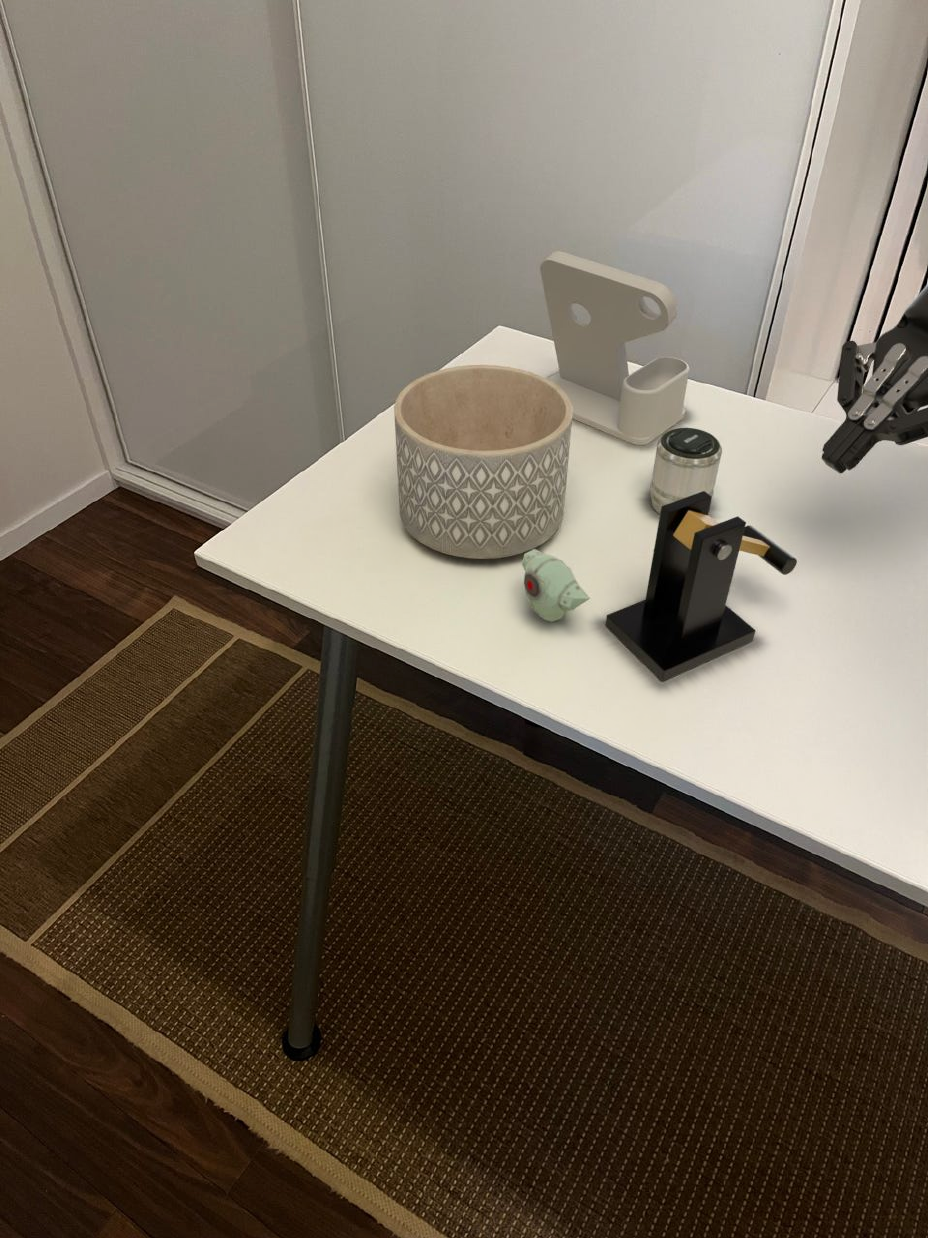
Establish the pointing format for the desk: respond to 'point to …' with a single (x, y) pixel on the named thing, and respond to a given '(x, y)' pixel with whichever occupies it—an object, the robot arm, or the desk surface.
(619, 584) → the desk surface
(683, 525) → the lever
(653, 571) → the pivoting lever stand
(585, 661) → the desk surface
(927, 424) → the robot arm
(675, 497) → the camera lens
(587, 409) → the phone holder
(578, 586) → the mint green rounded piece
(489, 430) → the planter
